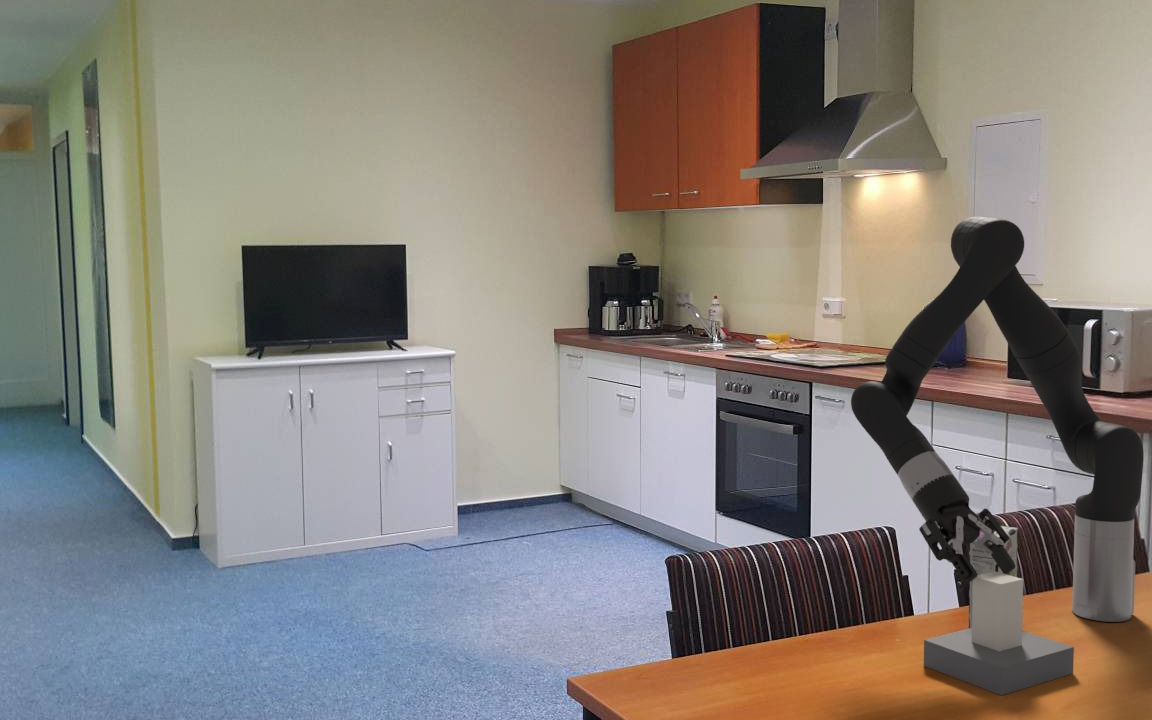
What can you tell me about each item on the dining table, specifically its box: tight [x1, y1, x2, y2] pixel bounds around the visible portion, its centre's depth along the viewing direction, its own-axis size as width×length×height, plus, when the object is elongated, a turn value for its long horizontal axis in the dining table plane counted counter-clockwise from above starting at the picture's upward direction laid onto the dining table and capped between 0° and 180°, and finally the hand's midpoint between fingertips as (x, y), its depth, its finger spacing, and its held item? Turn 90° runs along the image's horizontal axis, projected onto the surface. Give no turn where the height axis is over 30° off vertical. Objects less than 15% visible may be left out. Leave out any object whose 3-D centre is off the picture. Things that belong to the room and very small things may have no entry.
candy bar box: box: [968, 525, 1019, 629], centre depth 186 cm, size 11×5×16 cm, turn 143°
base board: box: [923, 627, 1075, 696], centre depth 168 cm, size 16×14×4 cm
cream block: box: [972, 572, 1024, 651], centre depth 167 cm, size 5×5×10 cm
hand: (991, 575), depth 168 cm, fingers open, 8 cm apart
